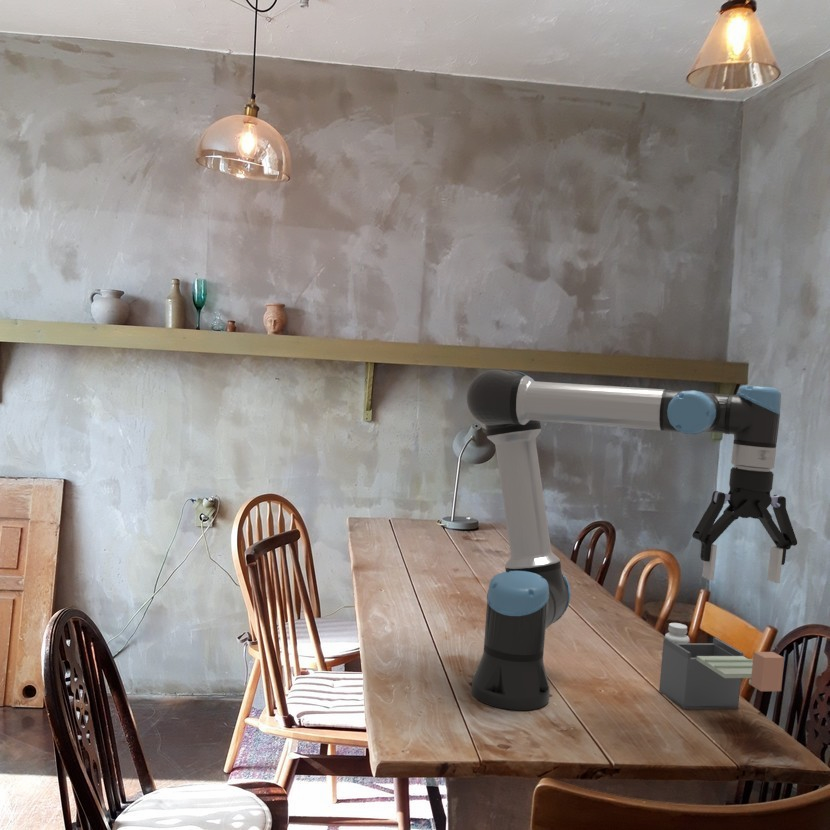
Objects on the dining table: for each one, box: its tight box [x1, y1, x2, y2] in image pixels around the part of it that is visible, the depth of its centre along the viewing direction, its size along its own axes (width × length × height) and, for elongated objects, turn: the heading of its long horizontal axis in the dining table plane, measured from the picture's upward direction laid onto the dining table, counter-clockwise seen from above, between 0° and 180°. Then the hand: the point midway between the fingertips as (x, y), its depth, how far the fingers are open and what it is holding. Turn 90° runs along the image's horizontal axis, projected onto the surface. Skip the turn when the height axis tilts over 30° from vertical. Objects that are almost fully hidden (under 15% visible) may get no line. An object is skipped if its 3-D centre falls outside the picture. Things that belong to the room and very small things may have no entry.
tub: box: [658, 636, 744, 710], centre depth 167 cm, size 12×10×11 cm
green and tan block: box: [696, 651, 785, 692], centre depth 153 cm, size 10×16×6 cm, turn 12°
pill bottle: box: [664, 622, 691, 643], centre depth 186 cm, size 5×5×10 cm
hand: (740, 580), depth 156 cm, fingers open, 13 cm apart
